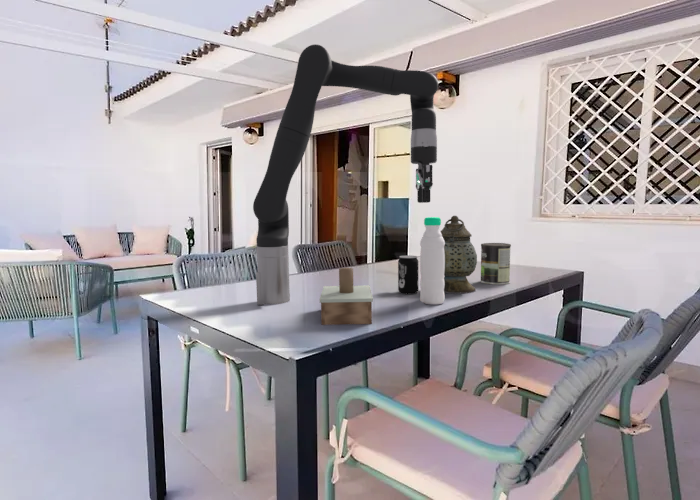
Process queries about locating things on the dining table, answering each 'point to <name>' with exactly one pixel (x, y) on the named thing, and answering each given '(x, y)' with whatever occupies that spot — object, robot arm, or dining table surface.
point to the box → (346, 313)
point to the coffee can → (495, 263)
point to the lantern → (458, 257)
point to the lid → (346, 290)
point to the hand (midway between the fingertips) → (423, 202)
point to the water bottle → (432, 263)
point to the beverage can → (408, 274)
